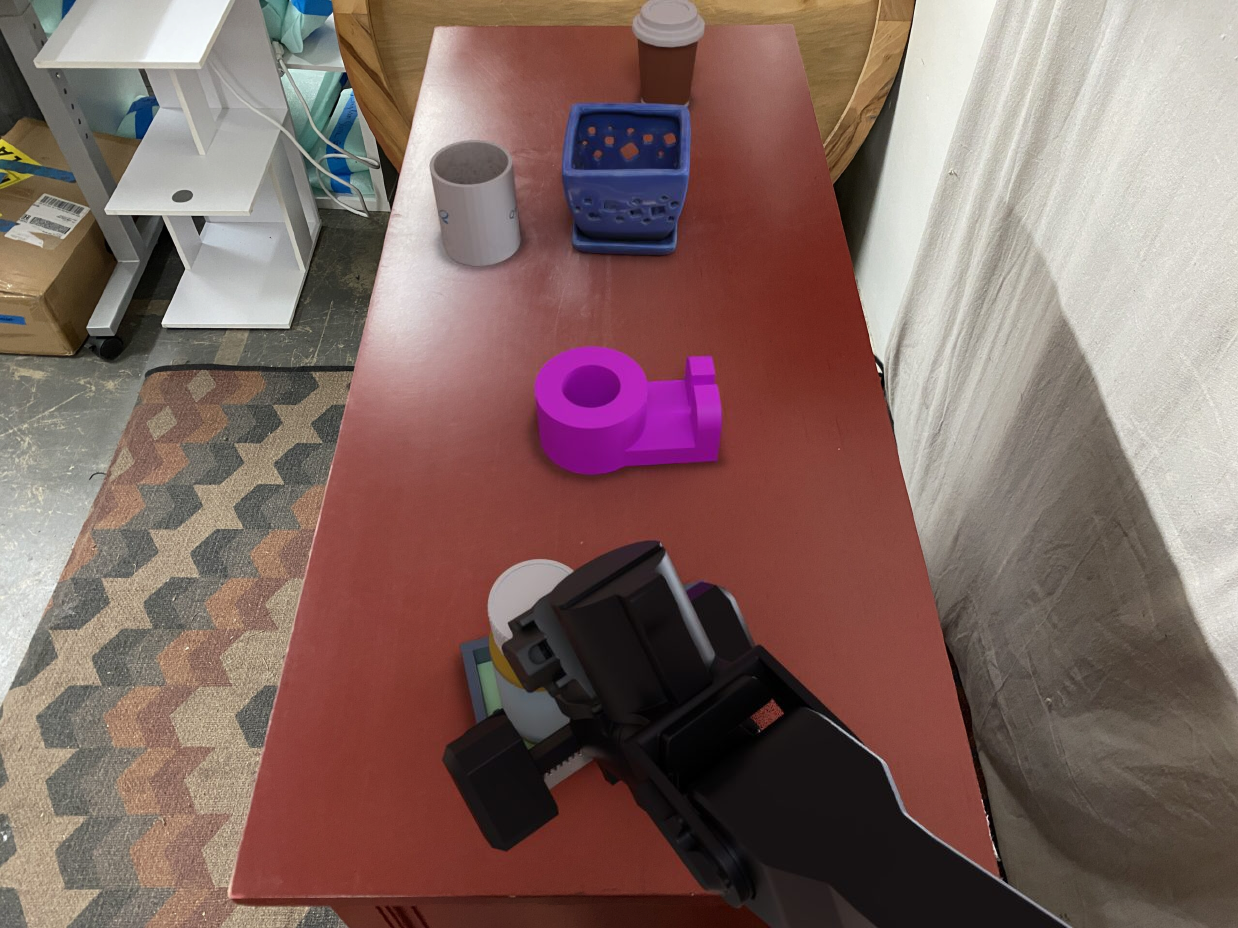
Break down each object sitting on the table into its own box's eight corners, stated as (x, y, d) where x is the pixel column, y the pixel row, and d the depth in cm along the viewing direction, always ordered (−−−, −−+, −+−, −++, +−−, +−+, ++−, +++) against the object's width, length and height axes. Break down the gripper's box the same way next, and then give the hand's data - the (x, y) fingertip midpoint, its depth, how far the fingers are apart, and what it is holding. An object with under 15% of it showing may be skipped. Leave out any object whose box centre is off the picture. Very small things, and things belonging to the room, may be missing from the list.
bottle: (485, 699, 68) (457, 595, 56) (559, 644, 71) (547, 534, 59) (543, 770, 64) (526, 675, 53) (618, 708, 67) (618, 606, 56)
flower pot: (685, 268, 100) (692, 173, 91) (564, 266, 100) (558, 170, 91) (684, 196, 108) (690, 102, 99) (572, 194, 109) (568, 99, 99)
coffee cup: (713, 99, 122) (721, 8, 113) (670, 127, 118) (674, 35, 108) (660, 76, 126) (664, -14, 116) (616, 102, 121) (616, 11, 112)
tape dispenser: (540, 477, 82) (535, 431, 77) (538, 396, 88) (533, 349, 83) (718, 467, 83) (724, 421, 78) (703, 388, 89) (708, 340, 84)
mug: (514, 267, 100) (505, 189, 92) (436, 264, 100) (421, 185, 93) (529, 200, 108) (522, 123, 100) (457, 197, 108) (445, 119, 100)
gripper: (749, 510, 47) (623, 500, 62) (428, 710, 40) (371, 647, 55) (829, 692, 49) (690, 642, 64) (537, 911, 43) (454, 800, 57)
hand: (559, 677), depth 60 cm, fingers open, 9 cm apart
